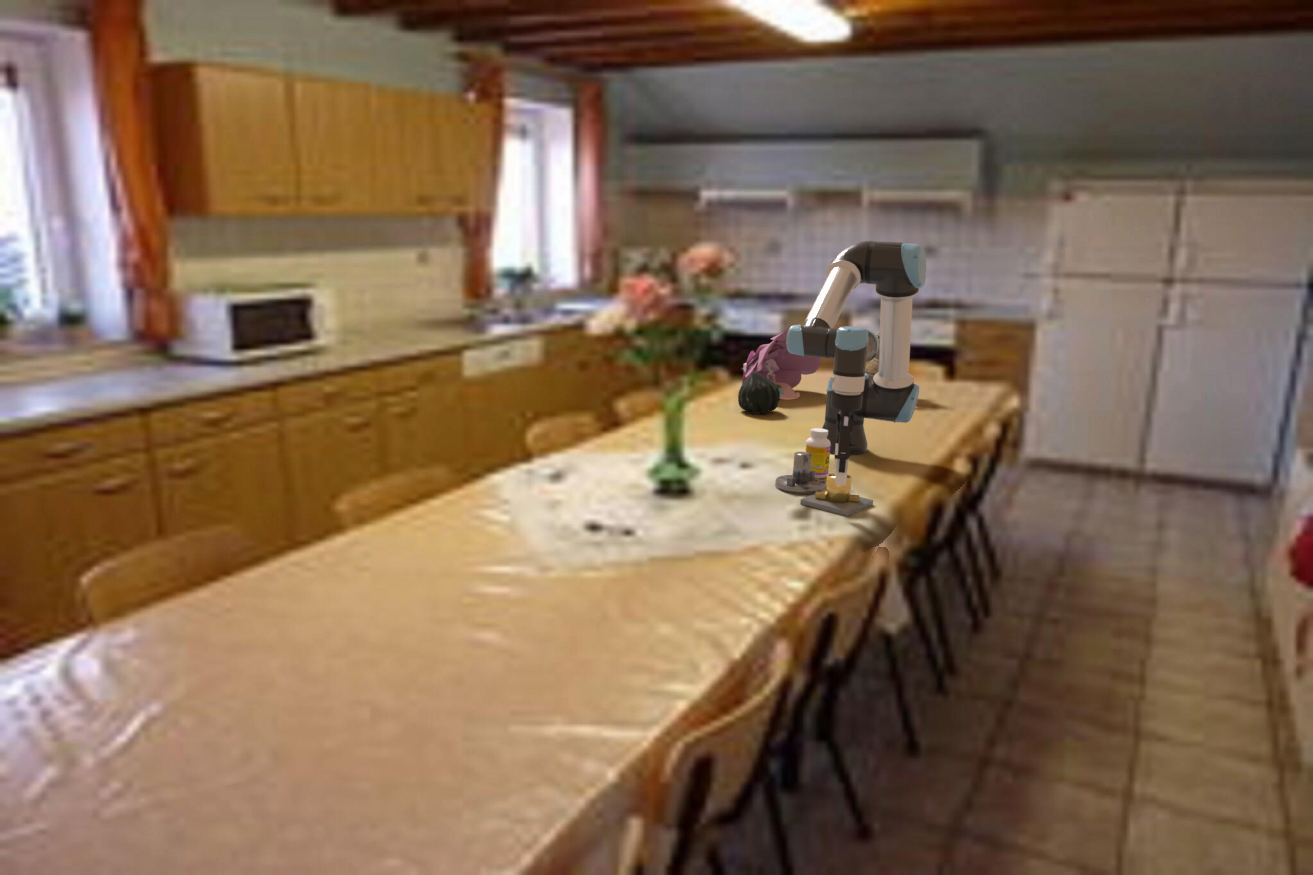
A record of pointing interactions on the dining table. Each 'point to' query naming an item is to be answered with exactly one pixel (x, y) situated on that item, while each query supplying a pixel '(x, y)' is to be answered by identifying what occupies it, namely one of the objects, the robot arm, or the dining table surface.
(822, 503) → the tile
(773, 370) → the flower arrangement
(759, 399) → the squash
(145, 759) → the dining table surface
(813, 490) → the post
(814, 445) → the supplement bottle
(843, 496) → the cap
